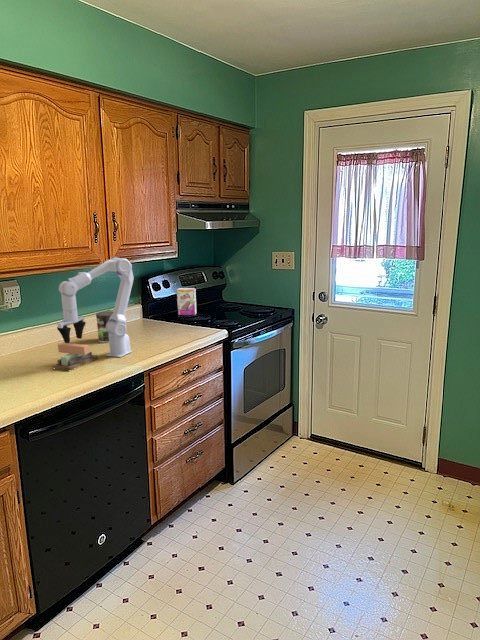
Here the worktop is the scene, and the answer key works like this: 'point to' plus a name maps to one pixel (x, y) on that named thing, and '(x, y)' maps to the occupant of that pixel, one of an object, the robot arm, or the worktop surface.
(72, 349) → the bar
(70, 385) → the worktop surface
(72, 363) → the cradle
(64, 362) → the block
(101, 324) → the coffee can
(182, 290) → the candy bar box
